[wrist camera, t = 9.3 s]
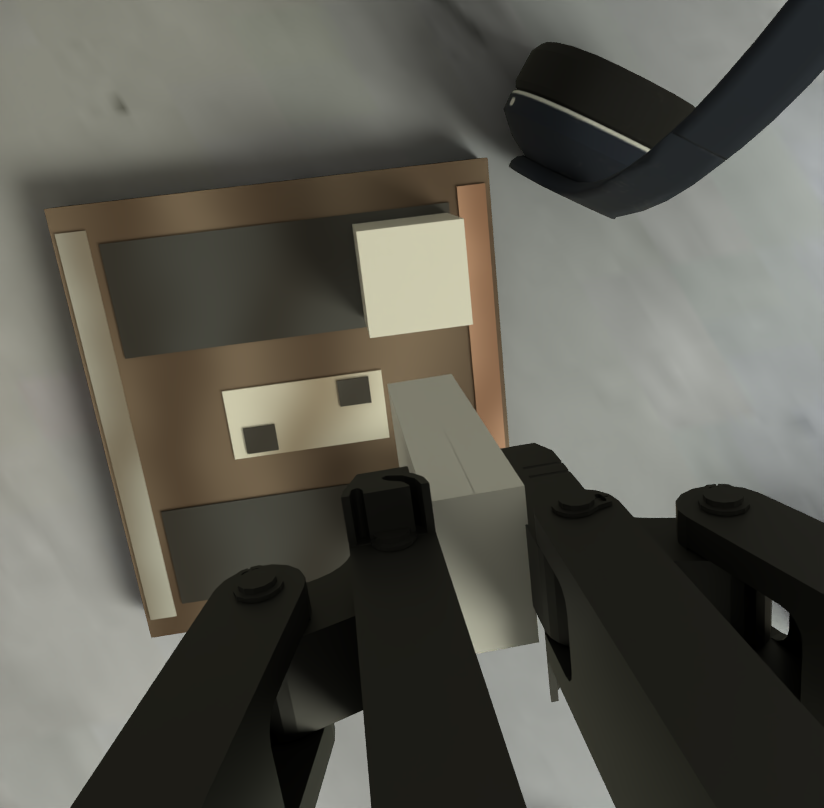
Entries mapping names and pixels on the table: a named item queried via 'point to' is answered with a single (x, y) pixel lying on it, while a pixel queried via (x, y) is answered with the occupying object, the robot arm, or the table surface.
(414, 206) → the brown wooden tray
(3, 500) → the table surface
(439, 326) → the cream cube
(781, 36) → the headphones
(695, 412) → the table surface
